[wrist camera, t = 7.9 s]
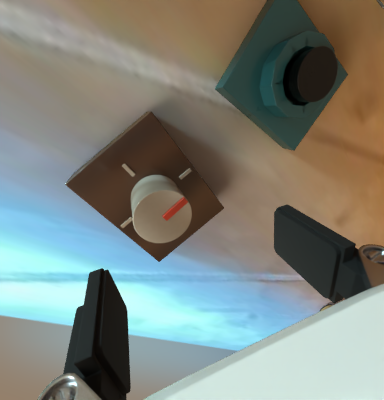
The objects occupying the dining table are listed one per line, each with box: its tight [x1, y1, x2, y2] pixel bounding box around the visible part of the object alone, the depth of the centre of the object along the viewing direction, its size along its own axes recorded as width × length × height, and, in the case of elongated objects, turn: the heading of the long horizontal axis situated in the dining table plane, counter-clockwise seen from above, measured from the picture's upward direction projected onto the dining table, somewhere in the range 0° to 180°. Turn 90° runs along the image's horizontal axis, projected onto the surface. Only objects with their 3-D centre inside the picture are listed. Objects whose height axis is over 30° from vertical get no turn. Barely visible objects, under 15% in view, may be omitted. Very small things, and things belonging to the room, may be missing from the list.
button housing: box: [215, 0, 348, 150], centre depth 22 cm, size 12×10×4 cm
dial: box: [131, 175, 192, 243], centre depth 19 cm, size 5×5×5 cm
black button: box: [283, 46, 338, 103], centre depth 20 cm, size 4×4×2 cm
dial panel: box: [65, 112, 224, 262], centre depth 23 cm, size 13×10×3 cm
